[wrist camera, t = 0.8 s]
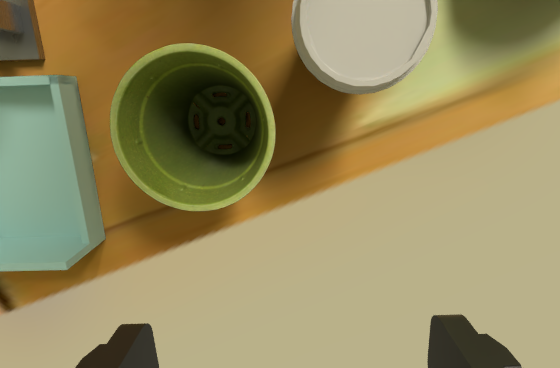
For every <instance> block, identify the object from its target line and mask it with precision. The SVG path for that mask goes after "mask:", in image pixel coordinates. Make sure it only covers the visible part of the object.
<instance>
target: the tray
mask: <svg viewBox="0 0 560 368" xmlns="http://www.w3.org/2000/svg"><path fill="white" fill-rule="evenodd" d="M105 239H106V237H105V232H104V226H103V221H102V215H101V210H100V204H99V199H98V193H97V188H96V182H95V177H94V171H93V166H92V160H91V155H90V149H89V144H88V138H87V133H86V127H85V122H84V116H83V111H82V105H81V100H80V95H79V89H78V84H77V78H76V76H64V75H42V76H15V77H0V271H40V270H68V269H69V268H70V267H71V266H73V265H74V264H75V263H76V262H78V261H79V260H80V259H81V258H83V257H84V256H85V255H86V254H88V253H89V252H90V251H91V250H92V249H94V248H95V247H96V246H97V245H99V244H100V243H101V242H102V241H104V240H105Z"/></svg>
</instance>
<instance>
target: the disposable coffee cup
mask: <svg viewBox="0 0 560 368" xmlns="http://www.w3.org/2000/svg"><path fill="white" fill-rule="evenodd" d="M437 11H438V6H437V0H294V2H293V9H292V20H291V21H292V33H293V38H294V43H295V46H296V49H297V51H298V54H299V56H300V58H301V59H302V61H303V63H304V64H305V66H306V68H307V69H308V70H309V71H310V72H311V73H312V74H313V75H314V76H315V77H316V78H317V79H318V80H319V81H320V82H322V83H324V84H325V85H327V86H329V87H330V88H333V89H335V90H338V91H341V92H344V93H351V94H368V93H375V92H378V91H381V90H384V89H387V88H389V87H391V86H393V85H394V84H396V83H398V82H400V81H401V80H403V79H404V78H405V77H406V76H407V75H408V74H409V73H411V72H412V71H413V70H414V68H415V67H416V66H417V65H418V64H419V62H420V61H421V60H422V58H423V56H424V55H425V53H426V52H427V50H428V47H429V45H430V42H431V40H432V38H433V34H434V31H435V27H436V20H437Z"/></svg>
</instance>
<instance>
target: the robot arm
mask: <svg viewBox="0 0 560 368" xmlns="http://www.w3.org/2000/svg"><path fill="white" fill-rule="evenodd" d="M76 368H159V364H158V359H157V353H156V348H155V343H154V337H153V332H152V328H151V326H150V325H149V324H122V325H120V326H119V327H118V329H117V330H116V331H115V333H114V334H113V336H112V337H111V339H110V340H109V341H108V343H107V344H100V345H99V346H97V347H96V348H95V349H94V350H92V351H91V352H90V353H89V354H88V355H86V356H85V357H84V358H82V360H81V361H80V362H79V364H78V365H77V366H76ZM428 368H522V367H521V365H520V363H519V362H518V361H517V360H516V359H515V358H514V356H513V355H512V354H511V353H510V352H509V350H508V349H507V348H506V347H505V346H503V345H502V344H500V343H499V342H497V341H496V340H495V339H493V338H492V337H490V336H489V335H488V334H478V333H477V332H476V330H475V329H474V328H473V326H472V325H471V324H470V323H469V321H468V320H467V319H466V318H465V317H464V316H463V315H434V316H433V317H432V319H431V325H430V338H429V349H428Z"/></svg>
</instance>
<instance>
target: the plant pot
mask: <svg viewBox="0 0 560 368" xmlns="http://www.w3.org/2000/svg"><path fill="white" fill-rule="evenodd" d="M216 93H226V94H227V96H218V97H213V95H211V94H216ZM193 102H194V103H195V104H196V105H197V106H198V107H199V108H200V109H199V108H198V107H196V106H195V105H194V104H193ZM247 112H249V113H250V117H251V126H250V127H249V128H248V127H246V114H245V113H247ZM195 114H196V115H198V117H199V129H196V128H195V125H194V116H195ZM219 118H223V119H224V120H225V123H224V125H220V124H219V123H218V119H219ZM110 132H111V139H112V143H113V147H114V150H115V153H116V155H117V157H118V160H119V162H120V164H121V166H122V167H123V169H124V170H125V172H126V173H127V174H128V176H129V177H130V179H131V180H132V181H133V182H134V183H135V184H136V185H137V186H138V187H139V188H140V189H141V190H143V191H144V192H145V193H146V194H148V195H149V196H151V197H152V198H154V199H155V200H157V201H159V202H161V203H163V204H165V205H168V206H171V207H174V208H177V209H181V210H187V211H210V210H216V209H220V208H223V207H226V206H229V205H231V204H233V203H235V202H237V201H239V200H240V199H242V198H243V197H245V196H246V195H247V194H248V193H249V192H250V191H251V190H252V189H253V188H254V187H255V186H256V185H257V184H258V183H259V182H260V180H261V179H262V177H263V176H264V174H265V172H266V170H267V168H268V166H269V164H270V161H271V159H272V155H273V151H274V146H275V135H276V133H275V120H274V115H273V111H272V108H271V105H270V102H269V99H268V97H267V95H266V93H265V91H264V89H263V87H262V86H261V84H260V83H259V81H258V80H257V79H256V77H255V76H254V75H253V74H252V73H251V72H250V71H249V70H248V69H247V68H246V67H245V66H244V65H243V64H242V63H241V62H239V61H238V60H237V59H235V58H234V57H232V56H230V55H229V54H227V53H225V52H223V51H221V50H218V49H216V48H213V47H210V46H206V45H201V44H193V43H181V44H173V45H168V46H165V47H162V48H159V49H157V50H154V51H152V52H150V53H148V54H146V55H145V56H143V57H142V58H141V59H139V60H138V61H137V62H136V63H135V64H134V65H133V66H132V67H131V68H130V69H129V70H128V71H127V72H126V74H125V75H124V77H123V78H122V79H121V81H120V83H119V85H118V87H117V89H116V92H115V94H114V97H113V101H112V105H111V111H110ZM229 144H232V148H230V149H218V145H229Z"/></svg>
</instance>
